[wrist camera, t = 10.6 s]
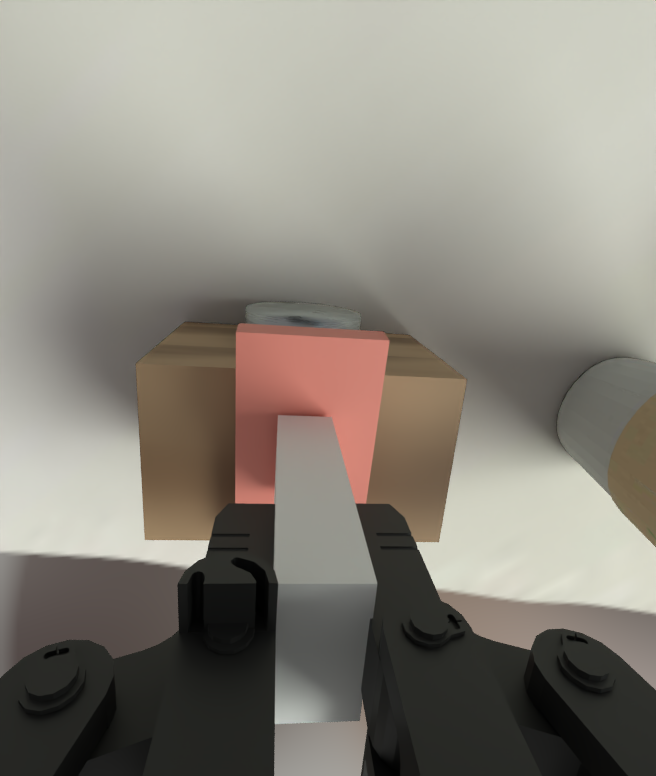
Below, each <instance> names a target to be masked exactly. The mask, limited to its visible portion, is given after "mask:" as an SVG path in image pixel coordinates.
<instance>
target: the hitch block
mask: <svg viewBox="0 0 656 776" xmlns="http://www.w3.org/2000/svg"><path fill="white" fill-rule="evenodd" d="M237 327H238V325H230V324H213V323H195V322H184V323H183V324H182V325H180V326H179V327H178V328H177V329H176V330H175V331H173V332H172V333H171V334H170V335H169V336H168V337H166V338H165V339H164V340H163V341H162V342H160V343H159V344H158V345H157V346H156V347H155V348H153V349H152V350H151V351H150V352H149V353H147V354H146V355H145V356H144V357H143V358H142V359H140V360H139V361H138V362H137V363H136V381H137V400H138V418H139V437H140V456H141V475H142V494H143V513H144V532H145V540H210V537H211V533H212V529H213V525H214V521H215V517H216V516H217V515H218V514H219V513H220V512H221V511H222V510H223V509H224V508H225V506H226V505H227V504H228V503H235V434H236V330H237ZM385 334H386V336H387V337H388V339H389V340H390V342H389V349H388V355H387V362H386V369H385V376H384V383H383V390H382V397H381V404H380V411H379V418H378V425H377V431H376V438H375V445H374V452H373V459H372V466H371V473H370V480H369V487H368V494H367V500H366V504H390V505H391V506H392V507H394V508H395V509H396V510H397V511H398V512H399V513H400V514H401V515H402V516H404V517H405V520H406V522H407V524H408V526H409V529H410V531H411V536H413V538H414V540H415V542H439V538H440V532H441V527H442V521H443V515H444V509H445V504H446V498H447V492H448V486H449V480H450V475H451V469H452V463H453V457H454V452H455V446H456V440H457V434H458V428H459V423H460V417H461V411H462V405H463V400H464V394H465V388H466V382H467V379H466V378H465V377H463V376H462V375H461V374H460V373H458V372H457V371H456V370H454V369H453V368H452V367H450V366H449V365H448V364H447V363H445V362H444V361H443V360H441V359H440V358H439V357H438V356H436V355H435V354H434V353H432V352H431V351H430V350H429V349H427V348H426V347H425V346H423V345H422V344H421V343H419V342H418V341H417V340H416V339H414V338H413V337H412V336H410V335H404V334H387V333H385Z"/></svg>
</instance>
